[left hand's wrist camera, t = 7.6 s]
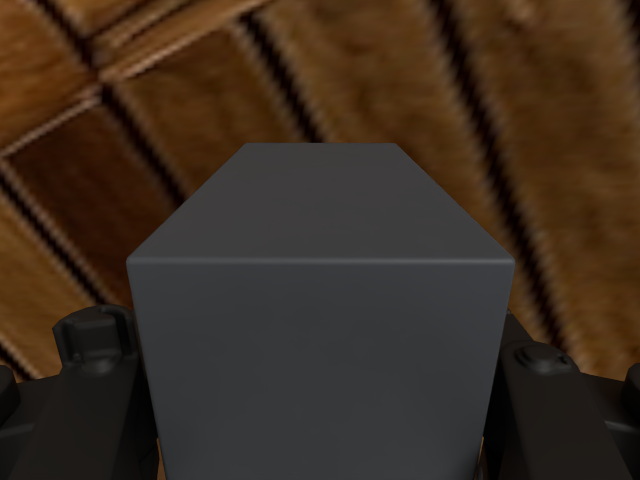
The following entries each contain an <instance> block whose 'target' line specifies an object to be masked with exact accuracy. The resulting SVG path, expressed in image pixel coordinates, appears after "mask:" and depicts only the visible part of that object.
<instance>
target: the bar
mask: <svg viewBox="0 0 640 480" xmlns="http://www.w3.org/2000/svg"><path fill="white" fill-rule="evenodd" d="M126 266H127V271H128V277H129V282H130V287H131V293H132V298H133V304H134V309H135V314H136V320H137V325H138V330H139V336H140V341H141V347H142V352H143V357H144V363H145V368H146V374H147V379H148V384H149V390H150V395H151V400H152V406H153V411H154V417H155V422H156V427H157V433H158V438H159V443H160V449H161V454H162V460H163V465H164V470H165V476H166V480H474V478H475V472H476V467H477V462H478V457H479V452H480V447H481V441H482V436H483V431H484V426H485V421H486V416H487V410H488V405H489V400H490V395H491V390H492V384H493V379H494V374H495V369H496V364H497V359H498V353H499V348H500V343H501V338H502V333H503V327H504V322H505V317H506V312H507V307H508V302H509V296H510V291H511V286H512V281H513V276H514V270H515V260H514V258H513V257H512V256H511V255H510V254H509V253H508V252H507V251H506V250H505V249H504V248H503V247H502V246H501V245H500V244H499V243H498V242H497V241H496V240H495V239H494V238H493V237H492V236H490V235H489V234H488V233H487V232H486V231H485V230H484V229H483V228H482V227H481V226H480V225H479V224H478V223H477V222H476V221H475V220H474V219H473V218H472V217H471V216H470V215H469V214H468V213H467V212H466V211H465V210H464V209H463V208H462V207H461V206H459V205H458V204H457V203H456V202H455V201H454V200H453V199H452V198H451V197H450V196H449V195H448V194H447V193H446V192H445V191H444V190H443V189H442V188H441V187H440V186H439V185H438V184H437V183H436V182H435V181H434V180H433V179H432V178H431V177H429V176H428V175H427V174H426V173H425V172H424V171H423V170H422V169H421V168H420V167H419V166H418V165H417V164H416V163H415V162H414V161H413V160H412V159H411V158H410V157H409V156H408V155H407V154H406V153H405V152H404V151H403V150H402V149H401V148H400V147H398V146H397V145H396V144H395V143H246V144H244V145H243V146H242V147H241V148H240V149H239V150H238V151H237V152H236V153H235V154H234V155H233V156H232V157H231V158H230V159H229V160H228V161H227V162H226V163H225V164H224V165H222V166H221V167H220V168H219V169H218V170H217V171H216V172H215V173H214V174H213V175H212V176H211V177H210V178H209V179H208V180H207V181H206V182H205V183H204V184H203V185H202V186H201V187H200V188H199V189H198V190H197V191H196V192H195V193H194V194H193V195H192V196H190V197H189V198H188V199H187V200H186V201H185V202H184V203H183V204H182V205H181V206H180V207H179V208H178V209H177V210H176V211H175V212H174V213H173V214H172V215H171V216H170V217H169V218H168V219H167V220H166V221H165V222H164V223H163V224H162V225H161V226H160V227H159V228H157V229H156V230H155V231H154V232H153V233H152V234H151V235H150V236H149V237H148V238H147V239H146V240H145V241H144V242H143V243H142V244H141V245H140V246H139V247H138V248H137V249H136V250H135V251H134V252H133V253H132V254H131V255H130V256H129V257H128V258H127V261H126Z"/></svg>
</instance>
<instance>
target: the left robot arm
mask: <svg viewBox="0 0 640 480" xmlns="http://www.w3.org/2000/svg"><path fill="white" fill-rule="evenodd" d="M52 330H53V334H54V337H55V341H56V344H57V348H58V352H59V355H60V359H61V362H62V366H63V367H62V369H61V371H60V373H59V375H55V376H51V377H46V378H41V379H36V380H31V381H26V382H21V383H16V380H15V377H14V374H13V371H12V370H11V369H10V368H8V367H7V366H6V365H0V480H157V474H158V466H159V451H158V445H157V438H158V433H157V427H156V422H155V417H154V411H153V406H152V400H151V395H150V390H149V384H148V379H147V374H146V368H145V363H144V357H143V352H142V347H141V341H140V336H139V330H138V325H137V320H136V314H135V309H134V308H133V310H132V311H130V310H129V309H128V308H127V307H124V306H120V305H115V304H112V305H98V306H93V307H88V308H84V309H82V310H79V311H76V312H73V313H71V314H69V315H68V316H66V317H64V318H63V319H61V320H59V321H58V322H57V324H56V325H55V326H54V327H53V328H52ZM483 437H484V440H483V445H482V451H481V456H480V461H479V466H478V472H477V477H476V480H640V363H636V364H634V365H633V366H631V367H630V368H629V369H628V372H627V375H626V378H625V381H619V380H614V379H609V378H604V377H599V376H594V375H589V374H585V373H581V372H580V370H579V368H578V366H577V365H576V364H575V362H574V361H573V360H572V359H571V357H569V356H568V355H566V354H565V353H563V352H562V351H561V350H559V349H557V348H554V347H552V346H550V345H547V344H545V343H541V342H536V341H534V340H533V339H532V338H531V337H530V335H529V334H528V333H527V331H526V330H525V329H524V328H523V326H522V325H521V324H520V323H519V321H518V320H517V319H516V318H515V316H514V315H513V314H511V311H510V310H509V309H508V307H507V312H506V317H505V322H504V327H503V333H502V338H501V343H500V348H499V353H498V359H497V364H496V369H495V374H494V379H493V384H492V390H491V395H490V400H489V405H488V410H487V416H486V421H485V426H484V431H483Z"/></svg>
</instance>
